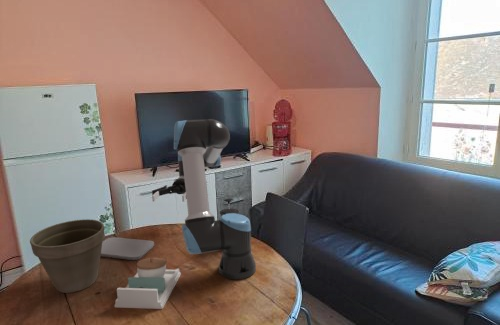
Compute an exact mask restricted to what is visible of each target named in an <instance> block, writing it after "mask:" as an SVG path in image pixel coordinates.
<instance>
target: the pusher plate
mask: <svg viewBox="0 0 500 325" xmlns="http://www.w3.org/2000/svg"><path fill="white" fill-rule="evenodd" d="M127 282H128V283H127V285H129V288H139V287H144V288H146V289H158V292H164V290H165V278H144V277H134V276H128V277H127Z"/></svg>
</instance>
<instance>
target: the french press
mask: <svg viewBox="0 0 500 325" xmlns="http://www.w3.org/2000/svg"><path fill="white" fill-rule="evenodd" d="M223 201H224V202H225V203H226V202H227V204H228V206H230V204H231V202H233V201H234V199H233V198H225V199H224V200H223ZM228 213H235V214H239V213H240V212H239V210H238V209H236V208H225V209H222V210H220V211H219V215H220V217H221V216H222V215H225V214H228Z"/></svg>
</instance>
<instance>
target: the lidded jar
mask: <svg viewBox="0 0 500 325" xmlns="http://www.w3.org/2000/svg"><path fill="white" fill-rule="evenodd" d="M166 270H167V259H165V258H163V257H162V258H161V257H148V258H144V259H141V260H139V261H138V262H137V263H136V271H137V272H138V277H144V278H163V277H164V275H165V271H166ZM137 272H136V273H137Z"/></svg>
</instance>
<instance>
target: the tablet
mask: <svg viewBox="0 0 500 325" xmlns="http://www.w3.org/2000/svg"><path fill="white" fill-rule="evenodd" d="M154 246H155V242H154V240H147V239H146V240H145V239H136V238H125V237H116V236H113V237H109V238H106V239H104V240H103V241H102V249H101V256H100V257H105V258H111V257H112V258H111V259H122V260H127V261H138V260H139V259H141V258H143V257H144V256H145V255H146V254H148V252H149V251H151V250H152V249H153V247H154Z"/></svg>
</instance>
